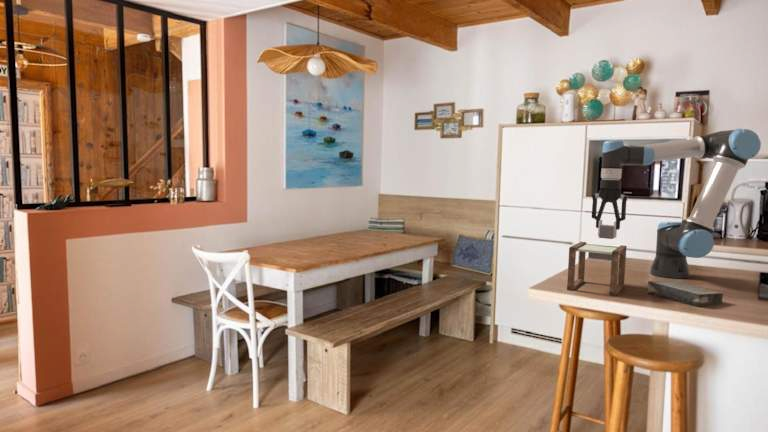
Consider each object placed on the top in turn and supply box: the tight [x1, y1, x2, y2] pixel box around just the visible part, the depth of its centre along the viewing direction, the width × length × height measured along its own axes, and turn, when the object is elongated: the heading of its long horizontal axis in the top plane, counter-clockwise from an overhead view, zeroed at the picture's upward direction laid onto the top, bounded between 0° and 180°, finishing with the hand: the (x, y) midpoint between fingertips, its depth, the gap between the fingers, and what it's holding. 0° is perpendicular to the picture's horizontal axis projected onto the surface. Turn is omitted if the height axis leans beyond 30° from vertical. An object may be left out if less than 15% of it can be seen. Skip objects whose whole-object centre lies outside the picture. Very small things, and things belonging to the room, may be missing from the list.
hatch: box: [576, 243, 619, 261], centre depth 202 cm, size 12×21×6 cm, turn 147°
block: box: [647, 280, 724, 308], centre depth 187 cm, size 14×20×5 cm
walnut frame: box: [566, 241, 627, 297], centre depth 200 cm, size 17×19×16 cm
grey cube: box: [598, 224, 615, 240], centre depth 213 cm, size 5×5×5 cm
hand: (607, 236), depth 214 cm, fingers closed on grey cube, 5 cm apart
